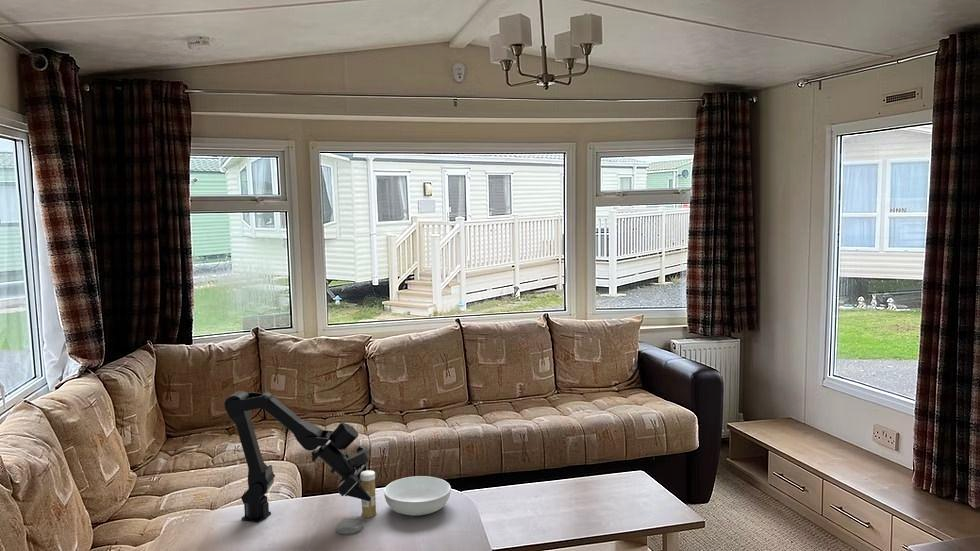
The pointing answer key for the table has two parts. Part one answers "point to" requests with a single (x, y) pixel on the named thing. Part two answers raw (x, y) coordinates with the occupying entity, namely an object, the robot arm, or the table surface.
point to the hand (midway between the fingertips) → (372, 493)
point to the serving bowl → (417, 495)
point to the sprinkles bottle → (369, 487)
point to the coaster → (349, 527)
